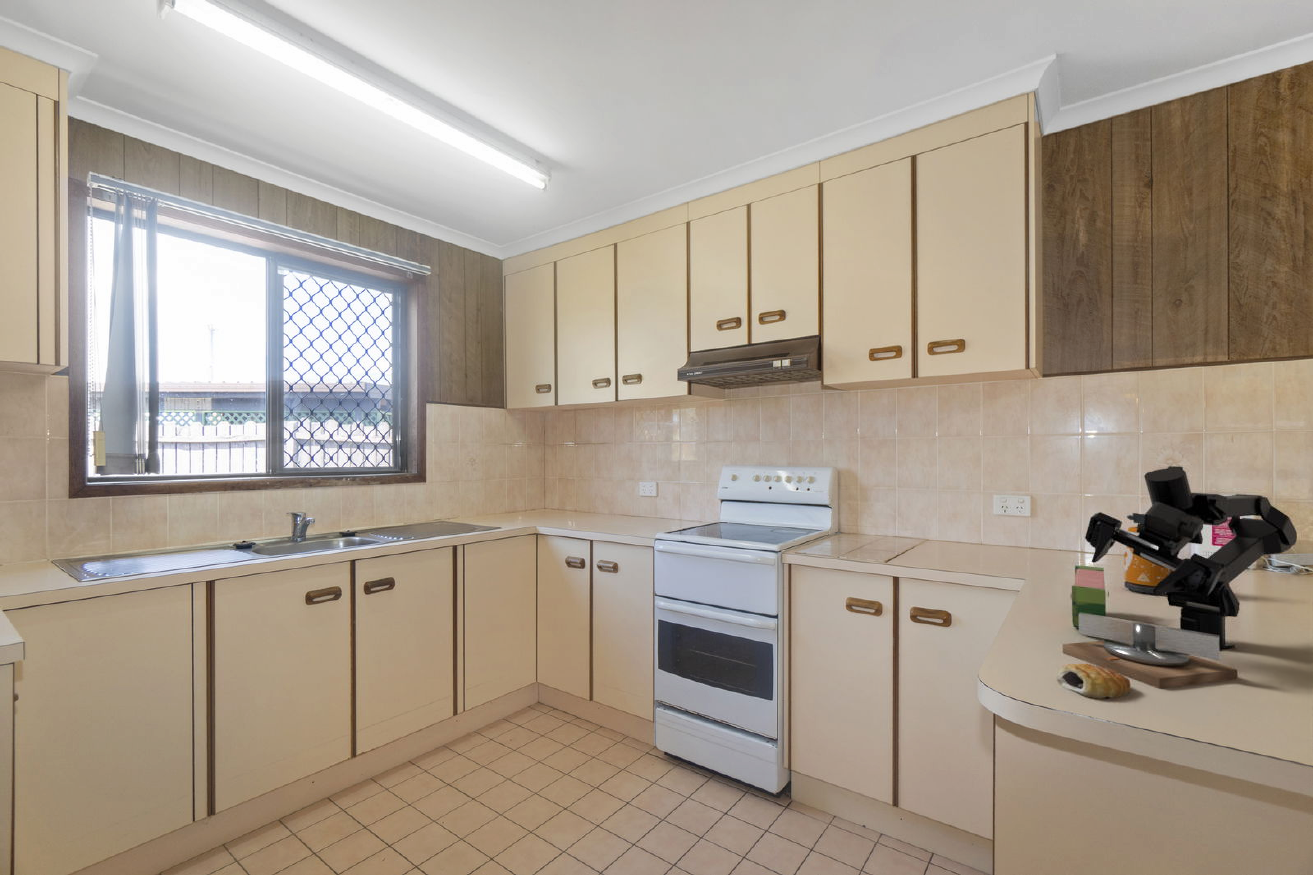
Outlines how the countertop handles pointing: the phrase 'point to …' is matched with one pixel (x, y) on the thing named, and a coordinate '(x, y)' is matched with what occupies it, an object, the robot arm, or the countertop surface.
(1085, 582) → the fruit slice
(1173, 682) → the dial board
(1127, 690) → the pastry
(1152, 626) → the silver metal stand
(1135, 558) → the canister
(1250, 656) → the countertop surface
